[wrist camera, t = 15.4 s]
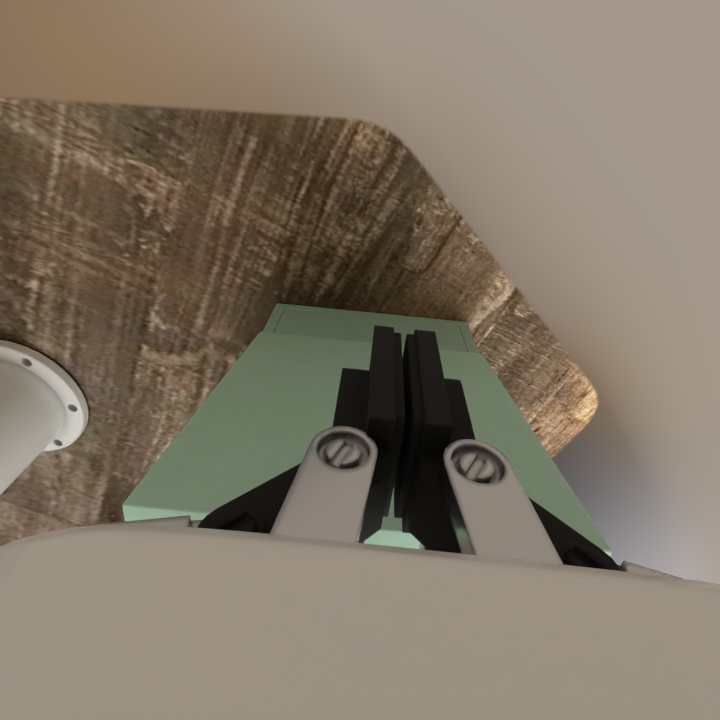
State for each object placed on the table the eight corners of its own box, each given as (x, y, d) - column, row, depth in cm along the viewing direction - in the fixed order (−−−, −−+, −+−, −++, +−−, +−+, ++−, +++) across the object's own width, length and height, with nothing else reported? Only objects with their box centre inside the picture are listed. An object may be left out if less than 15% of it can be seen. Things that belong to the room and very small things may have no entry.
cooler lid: (605, 569, 14) (613, 551, 13) (123, 524, 14) (120, 504, 13) (480, 363, 30) (482, 353, 30) (259, 342, 30) (259, 331, 30)
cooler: (431, 466, 44) (437, 509, 39) (279, 451, 43) (267, 493, 39) (467, 321, 35) (480, 355, 30) (276, 302, 35) (261, 333, 30)
